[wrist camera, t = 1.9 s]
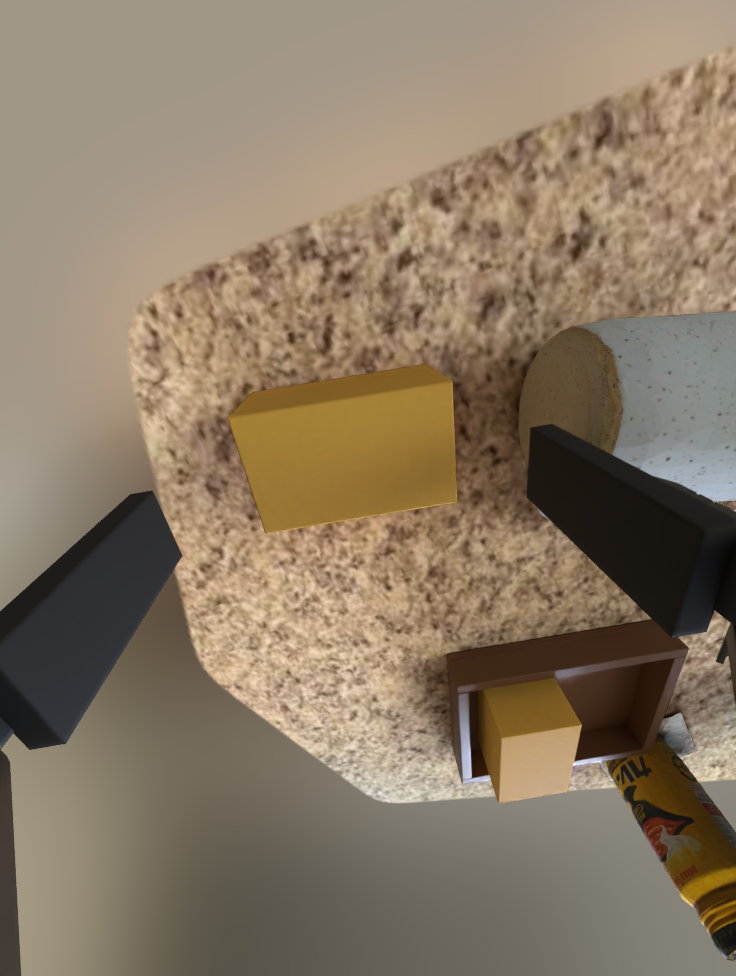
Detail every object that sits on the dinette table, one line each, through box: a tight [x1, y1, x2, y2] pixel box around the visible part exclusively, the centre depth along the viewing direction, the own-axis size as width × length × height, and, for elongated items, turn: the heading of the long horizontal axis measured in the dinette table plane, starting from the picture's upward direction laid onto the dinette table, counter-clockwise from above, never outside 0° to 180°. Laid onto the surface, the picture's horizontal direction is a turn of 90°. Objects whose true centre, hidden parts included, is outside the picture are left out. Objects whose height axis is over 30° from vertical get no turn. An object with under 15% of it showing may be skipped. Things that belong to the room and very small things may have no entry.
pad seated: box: [478, 678, 582, 803], centre depth 27 cm, size 8×5×4 cm, turn 8°
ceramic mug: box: [518, 311, 736, 520], centre depth 16 cm, size 11×8×8 cm
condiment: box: [598, 713, 736, 961], centre depth 29 cm, size 7×8×12 cm
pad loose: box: [228, 364, 457, 534], centre depth 17 cm, size 8×5×4 cm, turn 98°
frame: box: [447, 620, 689, 784], centre depth 28 cm, size 13×16×3 cm
